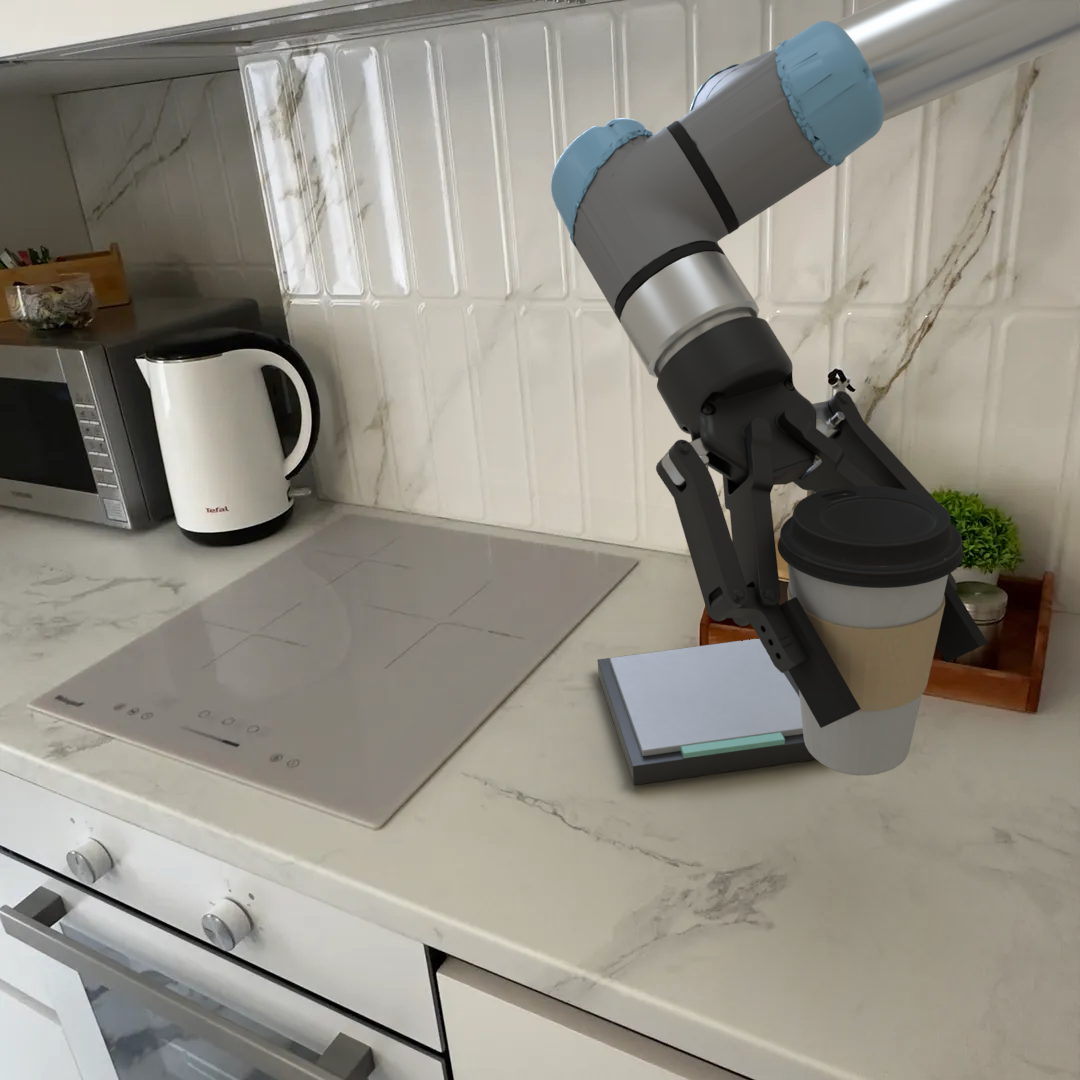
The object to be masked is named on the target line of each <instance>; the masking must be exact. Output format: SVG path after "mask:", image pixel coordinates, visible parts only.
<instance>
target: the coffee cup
mask: <svg viewBox="0 0 1080 1080" xmlns="http://www.w3.org/2000/svg"><path fill="white" fill-rule="evenodd" d="M935 500H936V499H935ZM935 500H933V499H931V498H929V497H926V496H924V495H921V494H918V493H915V492H911V491H907V490H902V489H896V488H889V487H879V486H850V487H840V488H833V489H828V490H824V491H820V492H817V493H816V492H814V493H811V494H810V495H808V496H806V497H804V498H801V500H799V501H798V502H797V503H796V505H795V506H794V508H793V511H792V515H791V516H790V517H789V518H788V519H786V521H785V522H784V523H783V525H781V528H780V531H779V537H778V540H777V547H776V548H777V551H778V554H779V555H780V557H781V558H782V559H783V561H784V562H785V563H787V571H788V583H787V589H786V591H787V593H786V594H787V601H788V600H790V599H793V598H795V597H797V599H798V600H799V602H800V604H801V606H802V607H803V609H804V611H805V613H806V614H807V616H808V618H809V620H810V621H811V623H812V625H813V627H814V628H815V630H816V632H817V633H818V635H819V637H820V639H821V640H822V642H823V644H824V646H825V647H826V649H827V651H828V653H829V654H830V656H831V658H832V660H833V661H834V663H835V665H836V667H837V668H838V670H839V672H840V673H841V675H842V677H843V679H844V680H845V682H846V684H847V686H848V687H849V689H850V691H851V693H852V694H853V696H854V698H855V700H856V701H857V703H858V705H859V707H860V708H861V709H860V710H858V711H856V712H854V713H852V714H850V715H848V716H846V717H844V718H842V719H840V720H837V721H835V722H833V723H831V724H829V725H827V726H825V727H822V728H820V726H819V724H818V722H817V721H816V719H815V717H814V715H813V714H812V712H811V710H810V708H809V706H808V705H807V703H806V701H805V699H804V697H803V696H802V694H801V692H800V690H799V695H800V705H801V716H802V726H803V736H804V742H805V745H806V747H807V749H808V751H809V752H810V753H811V755H812V756H813V757H814V758H815V759H814V760H816V761H817V762H819V763H820V764H821V765H824V766H825V767H827V768H828V769H831V770H832V771H835V772H838V773H841V774H844V775H851V776H873V775H879V774H883V773H887V772H889V771H892V770H894V769H896V768H898V767H900V765H902V764H903V763H904V761H906V759H907V758H908V755H909V753H910V749H911V745H912V740H913V735H914V733H915V732H914V731H915V727H916V722H917V718H918V713H919V709H920V705H921V700H922V695H923V694H924V693H925V690H926V689H927V686H928V682H929V678H930V673H931V668H932V664H933V660H934V655H935V651H936V648H937V646H936V642H937V638H938V633H939V629H940V624H941V620H942V615H943V611H944V606H945V595H944V592H945V587H946V583H947V578H948V574H950V573H951V574H952V573H953V572H955V571H956V570H957V569H958V568H959V566H961V564H962V563H963V560H964V555H965V553H964V549H963V539H962V535H961V533H960V531H959V530H958V529H957V528H956V526H954V525H953V524H952V521H951V516H950V513H949V511H948V510H947V509H946V507H945V506H944V505H942V504H941V503H940V502H938V500H936V501H935Z"/></svg>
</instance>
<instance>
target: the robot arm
mask: <svg viewBox="0 0 1080 1080" xmlns="http://www.w3.org/2000/svg"><path fill="white" fill-rule="evenodd" d="M1078 41H1080V0H880V1H878V2H875V3H874V4H872V5H871V4H870V5H869V6H867V7H865V8H862V9H860V10H858V11H856V12H854V13H851V14H849V15H847V16H845V17H843V18H840V19H838V20H836V21H834V22H832V21H831V20H821V21H817V22H815V23H813V24H811V25H810V26H809V27H807V28H805V29H804V30H802V31H801V32H799V33H798V34H796V35H795V36H793V37H791V38H790V39H784V40H783V41H781V42H780V43H779V44H778V46H776V47H775V48H774V49H771V50H768V51H767V52H765V53H762V54H760V55H758V56H756V57H752V58H750V59H749V60H746V61H745V62H743V63H737V64H736V63H735V64H732V65H729V66H727V67H724V68H721V70H720V69H719V71H717V72H714V73H713V74H711V75H710V76H709V77H708V78H707V80H706V81H705V82H704V83H702V84H701V85H700V86H699V88H698V89H697V91H696V93H695V96H694V98H693V100H692V103H691V105H690V108H689V111H688V112H687V113H686V114H684V115H683V116H682V117H680V118H679V119H677V120H674V121H673V122H672V123H670V124H669V125H668V126H664V127H663V128H661V129H660V130H658V131H657V132H655V133H653V131H650V130H649V129H648V128H647V127H646V126H645V125H644V124H643V123H641V122H640V121H638V120H636V119H633V118H628V117H618V118H612V119H610V120H609V121H608V122H607V123H605V125H604V126H598V125H594V126H591V127H589V128H588V129H586V130H585V131H584V132H582V133H581V134H580V135H578V136H577V137H576V138H574V140H573V141H571V142H570V144H569V145H568V146H567V147H566V148H565V149H564V150H563V152H562V154H561V155H560V156H559V158H558V160H557V162H556V164H555V165H554V168H553V171H552V175H551V178H550V193H551V197H552V201H553V202H554V205H555V207H556V210H557V211H558V213H559V215H560V217H561V219H562V221H563V224H564V225H565V227H566V229H567V231H568V233H569V239H570V241H571V242H572V244H573V246H574V247H575V249H576V250H577V252H578V254H579V256H580V257H581V259H582V261H583V262H584V265H586V267H587V269H588V271H589V272H590V274H591V276H592V278H593V279H594V281H595V282H596V284H597V286H598V287H599V289H600V291H601V292H602V295H603V296H604V297H605V299H606V301H607V303H608V305H609V306H610V308H611V309H612V311H613V313H614V315H615V316H616V319H617V320H618V322H619V324H620V325H621V327H622V329H623V331H624V332H625V334H626V335H627V338H628V340H629V342H630V343H631V345H632V347H633V348H634V350H635V352H636V353H637V355H638V357H639V359H640V360H641V362H642V364H643V366H644V368H645V369H646V371H647V373H648V374H649V375H650V376H651V377H653V378H655V379H657V382H656V389H657V391H658V393H659V394H660V396H661V398H662V399H663V401H664V404H665V405H666V407H667V409H668V410H669V413H670V414H671V415H672V417H673V419H674V421H675V422H676V424H677V426H678V429H680V430H681V431H682V432H684V433H685V434H688V435H690V438H691V441H688V440H686V439H678V440H676V441H675V442H674V443H673V445H671V446H670V448H669V449H668V451H667V452H666V453H665V454H663V456H662V457H661V459H660V460H659V461H658V462H657V464H656V466H655V471H656V473H657V475H658V476H659V478H660V480H661V481H662V483H663V484H664V486H665V487H666V488H667V490H668V492H669V493H670V495H671V496H672V498H673V500H674V503H675V508H676V510H677V513H678V518H679V520H680V524H681V528H682V531H683V534H684V537H685V541H686V545H687V548H688V551H689V554H690V558H691V561H692V565H693V568H694V571H695V575H696V578H697V582H698V585H699V588H700V591H701V595H702V599H703V602H704V606H705V609H706V612H707V615H708V616H709V618H711V619H712V620H714V621H716V622H721V621H724V620H726V619H732V620H733V622H734V623H735V624H736V625H737V626H740V627H745V626H748V625H749V624H750V625H751V627H752V628H753V630H754V632H755V633H756V635H757V638H759V639H760V641H761V643H762V644H763V646H764V648H765V649H766V652H767V653H768V655H769V656H770V659H771V660H772V662H773V664H774V666H775V667H776V668H777V669H778V670H779V671H780V672H781V673H784V672H786V671H789V672H790V674H791V676H792V678H793V680H794V681H795V683H796V685H797V687H798V689H799V690H800V692H801V694H802V696H803V697H804V699H805V701H806V703H807V705H808V706H809V708H810V710H811V712H812V714H813V715H814V717H815V719H816V721H817V722H818V724H819V726H820V728H822V727H825V726H827V725H829V724H831V723H833V722H835V721H837V720H840V719H842V718H844V717H846V716H848V715H850V714H852V713H854V712H856V711H858V710H860V709H861V708H860V707H859V705H858V703H857V701H856V700H855V698H854V696H853V694H852V693H851V691H850V689H849V687H848V686H847V684H846V682H845V680H844V679H843V677H842V675H841V673H840V672H839V670H838V668H837V667H836V665H835V663H834V661H833V660H832V658H831V656H830V654H829V653H828V651H827V649H826V647H825V646H824V644H823V642H822V640H821V639H820V637H819V635H818V633H817V632H816V630H815V628H814V627H813V625H812V623H811V621H810V620H809V618H808V616H807V614H806V613H805V611H804V609H803V607H802V606H801V604H800V602H799V600H798V599H797V597H795V598H793V599H790V600H788V599H787V600H786V601H784V602H783V603H781V604H780V601H781V587H780V577H779V570H778V569H779V568H778V557H777V547H776V538H775V530H774V520H773V510H772V501H771V492H772V490H773V488H774V486H779V485H782V486H783V485H788V484H791V483H793V484H795V485H796V486H797V487H799V488H800V489H802V490H804V491H813V492H814V493H817V492H820V491H824V490H828V489H833V488H840V487H850V486H879V487H889V488H896V489H902V490H907V491H911V492H915V493H918V494H921V495H924V496H926V497H929V498H931V499H933V500H935V501H937V500H936V499H935V498H934V496H932V494H931V493H930V492H929V491H928V490H927V489H926V488H925V487H924V485H923V484H922V483H921V482H920V481H919V480H918V479H917V477H915V475H914V474H912V472H911V471H910V470H909V469H908V468H907V467H906V466H905V464H904V463H903V462H901V460H900V459H899V458H898V457H897V456H896V455H895V454H894V453H893V452H892V450H891V449H890V448H889V447H888V446H887V445H886V444H885V442H884V441H882V439H881V438H880V437H879V436H878V435H877V434H876V433H875V432H874V431H873V429H871V428H870V426H869V425H868V424H867V423H866V422H865V420H864V418H863V417H862V415H861V414H860V411H859V410H858V408H857V405H856V404H855V402H854V400H853V399H852V397H851V395H850V394H848V393H847V392H846V391H844V390H839V391H837V392H836V393H835V394H834V395H832V397H830V398H829V399H828V400H826V401H820V402H815V403H812V401H810V399H808V398H807V397H805V396H804V395H803V394H802V393H801V392H799V390H797V388H796V387H795V385H794V381H793V369H794V368H793V361H792V359H791V358H790V357H789V355H788V353H787V351H786V350H785V349H784V346H783V345H782V343H781V342H780V341H779V339H778V338H777V335H776V334H775V332H774V331H773V329H772V327H771V326H770V324H769V323H768V321H767V320H766V319H764V318H762V317H758V316H759V313H760V308H759V305H758V304H757V302H756V301H755V298H753V296H752V294H751V293H750V291H749V290H748V288H747V286H746V285H745V283H744V282H743V280H742V279H741V277H740V275H739V274H738V272H737V271H736V269H735V268H734V266H733V264H732V263H731V261H730V260H729V258H728V256H727V255H726V254H725V252H724V250H723V249H722V247H721V246H720V244H719V243H718V242H719V241H720V240H723V238H725V237H726V236H728V235H730V234H732V233H734V232H735V231H736V230H737V231H738V229H739V228H740V227H741V226H743V225H744V224H746V223H748V222H750V221H751V220H753V219H754V218H755V217H757V216H758V215H760V214H761V213H763V212H765V211H766V210H768V209H769V208H771V207H772V206H774V205H776V204H777V203H779V202H780V201H781V200H783V199H785V198H786V197H788V196H789V195H791V194H792V193H794V192H795V191H797V190H798V189H800V188H801V187H803V186H804V185H806V184H808V183H810V182H811V181H812V180H814V179H815V178H817V177H819V176H820V175H822V174H823V173H825V172H827V171H828V170H829V169H831V168H832V167H834V166H835V168H837V167H839V166H840V165H842V164H843V163H844V162H845V160H846V158H848V157H849V156H850V155H852V154H853V153H854V152H855V151H856V150H858V149H859V148H860V147H862V146H863V145H864V144H866V143H867V142H869V141H870V140H871V139H873V138H875V136H876V135H877V134H878V133H879V132H880V130H881V129H882V127H883V124H884V122H886V121H888V120H891V119H894V118H896V117H898V116H901V115H903V114H906V113H908V112H910V111H912V110H915V109H917V108H919V107H922V106H924V105H926V104H930V103H932V102H934V101H936V100H938V99H941V98H944V97H946V96H948V95H951V94H953V93H956V92H958V91H960V90H963V89H965V88H967V87H970V86H972V85H975V84H977V83H980V82H981V81H984V80H987V79H988V78H991V77H994V76H996V75H999V74H1001V73H1003V72H1007V71H1008V70H1011V69H1013V68H1015V67H1017V66H1020V65H1022V64H1024V63H1025V64H1026V63H1027V62H1031V60H1034V59H1038V58H1039V57H1041V56H1044V55H1046V54H1049V53H1051V52H1053V51H1056V50H1058V49H1061V48H1063V47H1065V46H1068V45H1069V44H1072V43H1075V42H1078ZM817 457H818V458H819V459H818V460H817V461H815V460H816V458H817ZM709 468H710V469H712V470H714V471H715V472H717V473H719V474H720V475H722V487H723V497H724V508H725V509H726V510H728V511H729V518H730V529H731V532H730V529H729V527H728V523H727V520H726V518H725V513H724V511H723V508H722V504H721V500H720V497H719V494H718V491H717V488H716V485H715V481H714V479H713V477H712V475H711V472H710V471H709ZM958 589H959V588H958V585H957V581H956V579H955V578H954V576H953V574H952V572H951V573H950V574H948V578H947V583H946V587H945V592H944V595H945V606H944V611H943V615H942V620H941V624H940V629H939V633H938V638H937V642H936V648H937V649H938V651H939V652H940V654H941V656H942V658H943V660H944V661H945V663H949V662H952V661H953V660H955V659H958V658H960V657H962V656H964V655H966V654H968V653H970V652H973V651H974V650H977V649H979V648H981V647H983V646H985V645H987V644H988V643H989V642H988V640H987V639H986V637H985V635H984V634H983V632H982V631H981V629H980V628H979V625H977V622H976V621H975V620H974V618H973V616H972V615H971V614H970V612H969V610H968V608H967V607H966V605H965V603H964V602H963V600H962V599H961V597H960V596H959V594H958V592H957V590H958Z"/></svg>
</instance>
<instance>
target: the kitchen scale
mask: <svg viewBox="0 0 1080 1080" xmlns="http://www.w3.org/2000/svg"><path fill="white" fill-rule="evenodd" d="M749 639H750V640H749ZM749 639H743V641H741V640H736V641H735V640H733V641H728V642H727V641H726V642H719V643H712V644H704V645H703V644H702V645H697V646H689V647H688V646H687V647H682V648H674V649H666V650H659V651H652V652H643V653H636V654H628V655H621V656H613V657H606V658H599V659H597V673H598V678H599V681H600V684H601V688H602V690H603V694H604V697H605V700H606V704H607V706H608V710H609V712H610V715H611V718H612V721H613V725H614V729H615V732H616V734H617V737H618V740H619V744H620V746H621V751H622V754H623V756H624V759H625V762H626V764H627V765H626V766H627V768H628V771H629V775H630V778H631V781H632V784H633V786H637V785H644V784H651V783H657V782H666V781H672V780H679V779H686V778H694V777H700V776H707V775H715V774H722V773H728V772H729V773H730V772H735V771H740V770H741V771H743V770H749V769H758V768H763V767H771V766H778V765H785V764H791V763H798V762H807V761H812V760H813V761H814V760H816V759H815V758H814V757H813V756H812V755H811V753H810V752H809V751H808V749H807V747H806V745H805V742H804V736H803V726H802V716H801V705H800V695H799V689H798V687H797V685H796V683H795V681H794V680H793V678H792V676H791V674H790V672H789V671H786V672H784V673H781V672H780V671H779V670H778V669H777V668H776V667H775V666H774V664H773V662H772V660H771V659H770V656H769V655H768V653H767V652H766V649H765V648H764V646H763V644H762V643H761V641H760V639H756V638H749Z"/></svg>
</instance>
